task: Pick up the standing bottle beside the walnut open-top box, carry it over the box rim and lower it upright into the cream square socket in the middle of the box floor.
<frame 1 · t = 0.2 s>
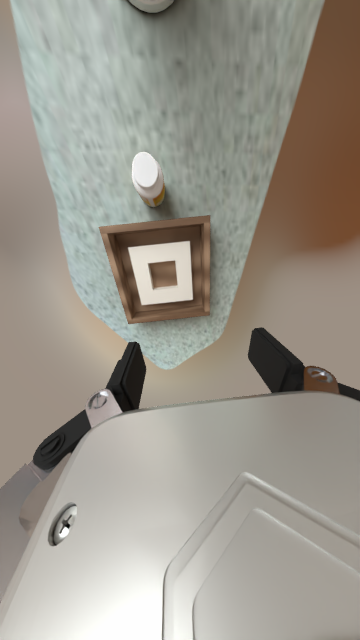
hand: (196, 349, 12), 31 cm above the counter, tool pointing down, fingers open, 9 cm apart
open box: (164, 273, 38), on the counter
socket plate: (163, 275, 36), in the open box, point 2 cm above the counter
supplement bottle: (152, 191, 30), on the counter
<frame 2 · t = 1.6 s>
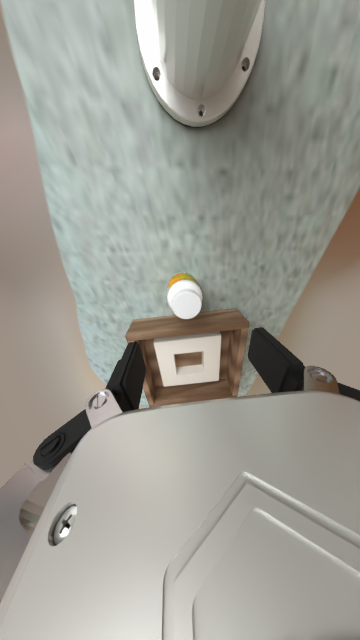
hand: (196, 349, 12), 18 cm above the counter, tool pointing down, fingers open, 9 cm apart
open box: (187, 353, 35), on the counter
socket plate: (188, 359, 33), in the open box, point 2 cm above the counter
supplement bottle: (181, 286, 27), on the counter
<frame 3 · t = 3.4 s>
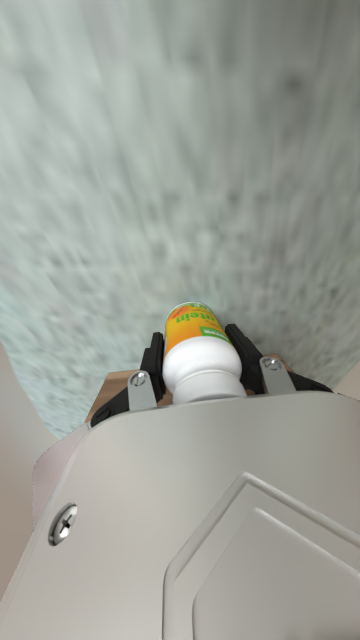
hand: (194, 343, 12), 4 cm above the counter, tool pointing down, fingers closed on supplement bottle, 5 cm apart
open box: (196, 412, 23), on the counter
supplement bottle: (189, 322, 16), on the counter, touching gripper
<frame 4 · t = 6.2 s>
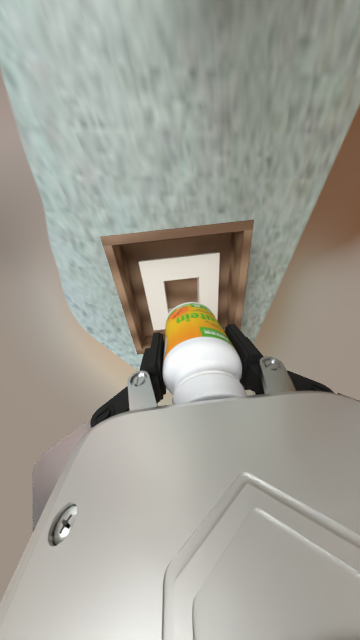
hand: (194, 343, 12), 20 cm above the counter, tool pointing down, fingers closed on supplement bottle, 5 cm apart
open box: (181, 291, 31), on the counter
socket plate: (182, 294, 29), in the open box, point 2 cm above the counter
supplement bottle: (189, 323, 16), point 16 cm above the counter, touching gripper
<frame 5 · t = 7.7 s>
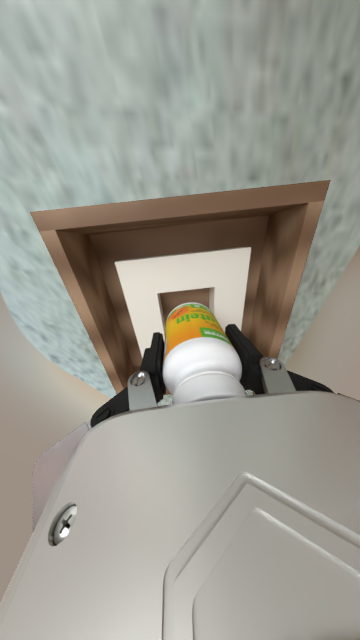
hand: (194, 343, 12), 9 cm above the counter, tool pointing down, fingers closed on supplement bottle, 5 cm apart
open box: (185, 305, 21), on the counter
socket plate: (186, 312, 19), in the open box, point 2 cm above the counter
supplement bottle: (189, 323, 16), point 6 cm above the counter, touching gripper
when the fingers open (5 cm above the counter, at t = 8.9 s): supplement bottle stays where it is, resting on open box.
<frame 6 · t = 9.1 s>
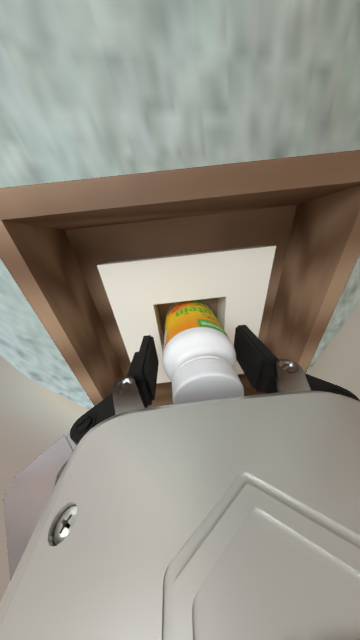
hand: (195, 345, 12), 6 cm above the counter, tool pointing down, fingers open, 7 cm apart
open box: (188, 316, 17), on the counter
socket plate: (190, 325, 15), in the open box, point 2 cm above the counter
supplement bottle: (188, 317, 16), point 1 cm above the counter, touching open box
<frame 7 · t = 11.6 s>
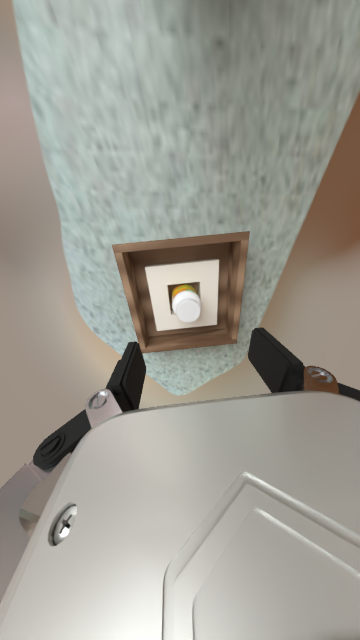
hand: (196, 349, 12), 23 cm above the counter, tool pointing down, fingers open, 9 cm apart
open box: (183, 294, 33), on the counter
socket plate: (184, 297, 31), in the open box, point 2 cm above the counter
supplement bottle: (183, 294, 32), point 1 cm above the counter, touching open box
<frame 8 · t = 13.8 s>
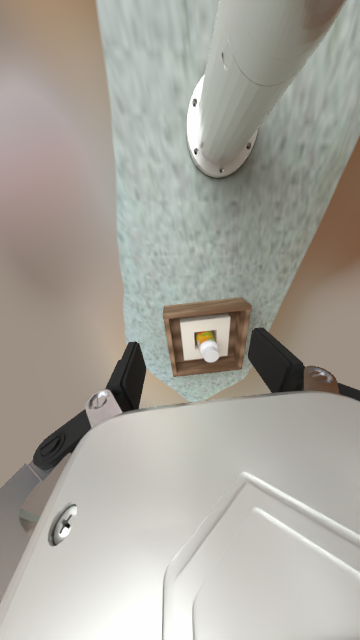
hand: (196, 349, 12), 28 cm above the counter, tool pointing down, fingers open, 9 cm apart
open box: (203, 333, 45), on the counter
socket plate: (204, 338, 43), in the open box, point 2 cm above the counter
supplement bottle: (203, 334, 44), point 1 cm above the counter, touching open box
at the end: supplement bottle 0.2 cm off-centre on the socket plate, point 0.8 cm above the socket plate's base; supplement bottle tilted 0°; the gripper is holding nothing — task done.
